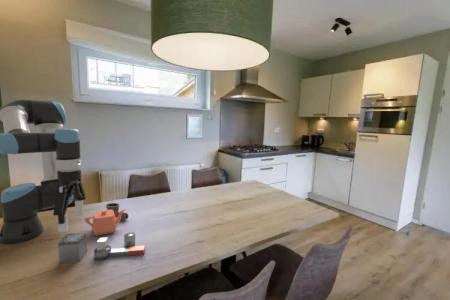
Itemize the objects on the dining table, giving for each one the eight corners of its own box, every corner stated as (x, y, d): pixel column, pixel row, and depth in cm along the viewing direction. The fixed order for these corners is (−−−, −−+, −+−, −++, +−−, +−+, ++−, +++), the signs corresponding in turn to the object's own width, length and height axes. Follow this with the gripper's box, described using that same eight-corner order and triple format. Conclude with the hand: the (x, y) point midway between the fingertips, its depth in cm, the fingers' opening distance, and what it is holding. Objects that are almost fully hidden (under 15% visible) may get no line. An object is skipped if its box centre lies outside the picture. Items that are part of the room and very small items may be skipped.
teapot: (86, 228, 112) (85, 208, 110) (125, 222, 120) (125, 203, 119) (84, 239, 102) (83, 218, 100) (127, 232, 110) (126, 211, 109)
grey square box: (59, 262, 85) (58, 243, 84) (68, 252, 92) (67, 234, 91) (79, 261, 87) (78, 242, 85) (86, 250, 93) (86, 232, 92)
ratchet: (91, 261, 87) (91, 244, 86) (97, 252, 93) (96, 236, 92) (143, 256, 91) (143, 240, 90) (145, 248, 97) (145, 233, 96)
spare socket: (123, 248, 96) (123, 237, 95) (125, 243, 100) (125, 232, 100) (134, 247, 97) (134, 237, 96) (136, 242, 101) (135, 232, 101)
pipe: (123, 222, 119) (123, 208, 118) (102, 219, 122) (102, 205, 121) (130, 218, 125) (130, 204, 124) (110, 215, 128) (110, 201, 127)
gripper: (63, 177, 73) (67, 238, 76) (92, 163, 97) (94, 209, 100) (37, 178, 72) (42, 240, 74) (73, 163, 96) (75, 210, 98)
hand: (72, 222), depth 87 cm, fingers open, 13 cm apart
